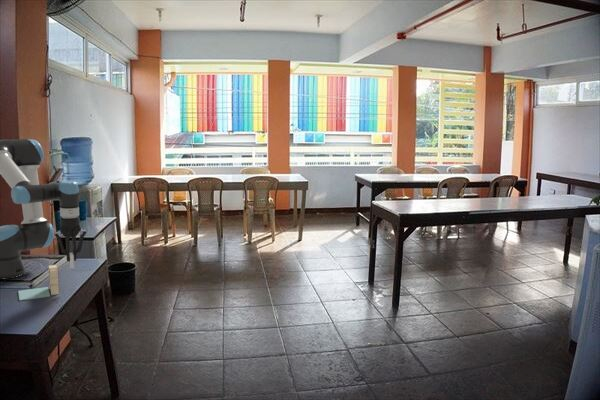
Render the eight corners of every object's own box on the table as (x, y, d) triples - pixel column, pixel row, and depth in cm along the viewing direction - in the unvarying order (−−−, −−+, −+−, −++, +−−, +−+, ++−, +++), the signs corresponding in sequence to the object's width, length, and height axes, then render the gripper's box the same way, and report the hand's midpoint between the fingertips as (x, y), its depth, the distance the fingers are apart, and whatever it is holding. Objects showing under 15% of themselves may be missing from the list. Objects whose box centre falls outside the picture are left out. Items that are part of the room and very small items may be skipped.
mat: (18, 291, 207) (18, 290, 207) (47, 287, 213) (47, 286, 213) (19, 300, 198) (19, 299, 198) (50, 296, 204) (50, 295, 204)
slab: (49, 288, 212) (48, 265, 210) (57, 287, 214) (56, 264, 212) (51, 295, 206) (50, 271, 204) (59, 293, 207) (58, 270, 205)
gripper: (54, 219, 201) (56, 272, 205) (87, 217, 208) (88, 268, 212) (52, 215, 207) (54, 267, 211) (84, 213, 214) (86, 263, 218)
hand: (71, 267), depth 212 cm, fingers closed
